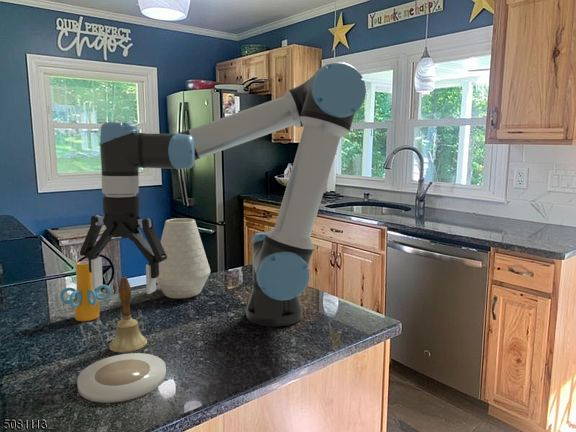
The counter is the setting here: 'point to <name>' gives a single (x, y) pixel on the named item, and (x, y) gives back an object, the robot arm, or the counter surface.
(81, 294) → the cylinder
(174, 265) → the vase
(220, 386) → the counter surface
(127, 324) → the hand bell
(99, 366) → the hub plate
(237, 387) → the counter surface
